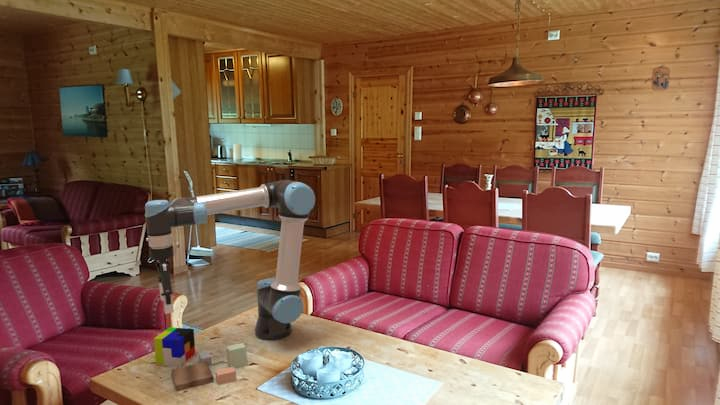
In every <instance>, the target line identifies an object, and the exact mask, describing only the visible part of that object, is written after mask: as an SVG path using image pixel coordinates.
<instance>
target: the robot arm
mask: <svg viewBox="0 0 720 405" xmlns="http://www.w3.org/2000/svg"><path fill="white" fill-rule="evenodd" d="M315 204H316V195H315V193H314V191H313V189H312V188H311V186H309V185H307V184H306V183H303V182H301V181H295V180H291V179H283V180H278V181H273V182H268V183H262V184H261V185H259V187H252V188H251V187H250V188H246V189H240V190H232V191H227V192H225V191H224V192H220V193H219V192H218V193H211V194H205V195H198V196H191V197H186V198H185V197H177V198H175V199H173V200H172V201H171V202H169V201H168V200H167V199H155V200H149V201H147V202H146V203H145V205H144V210H145V212H144V213H145V214H144V217H145V223H146V224H145V226H146V233H147V237H146V238H145V241H146V242H148V246H149V249H148V252H149V259H150V260H152V261H157V262H156V263H155V265H156V267H155V268H156V270H157V278H158V282H159V283H158V285H159V294H160V295H159V296H160V301H161V302H163V308H164V310H163V311H164V314H165V315H168V314H173V313H174V312H175V310H174V300H173V292H174V291H173V288H172V283H171V270H170V269H171V268H170V267H171V264H170V262H169V260H168V259H171V258H174V255H175V253H174V246H173V243H174V242H173V241H174V239H173V233H172V228H178V227H180V228H181V227H187V226H195V225H196V226H198V225H201V224H205V223H207V222H208V216H211V215H217V214H222V213H223V214H224V213H228V212H230V213H231V212H234V211H241V210H247V209H253V208H258V207H260V208H261V207H263V208H265V209H269V208H278V212H277V213H278V217H279V218H280V220H281V223H280V224H281V225H280V233H279V234H280V235H279V243H278V252H277V263H276V272H275V277H268V278H264V279H260V280H259V281H258V282H257V283H256V293H257V294H256V295H257V299H256V300H257V312H258V316H257V319H256V324H255V326H254V335H255V337H256V338H258V339H259V340H264V341H275V340H279V339H284V338H286V337H288V336H289V335H291V333H292V331H293V328H292V324H291V323H293V322H296V320H297V319H299V318H300V317H301V315H302V314H303V311H304V301H303V299H302V298H301V291H302V286H301V285H300V284H299V272H300V264H301V255H302V246H303V245H302V244H303V234H304V228H305V226H304V225H305V223H306V221H308V219H310V218H309V217H310V216H309V215H310V212H311V211H312V210H313V208H314V207H315Z"/></svg>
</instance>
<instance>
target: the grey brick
mask: <svg viewBox="0 0 720 405" xmlns="http://www.w3.org/2000/svg"><path fill="white" fill-rule="evenodd" d="M197 354H198V362H199V363H202V362H206V361H207V363H208V365H209V367H211V366H213V360H212V359H213V358H212V354H211V353H210V351H209V350H207V349H206V350H204V351H203V350H202V351H199V352H197Z"/></svg>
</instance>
